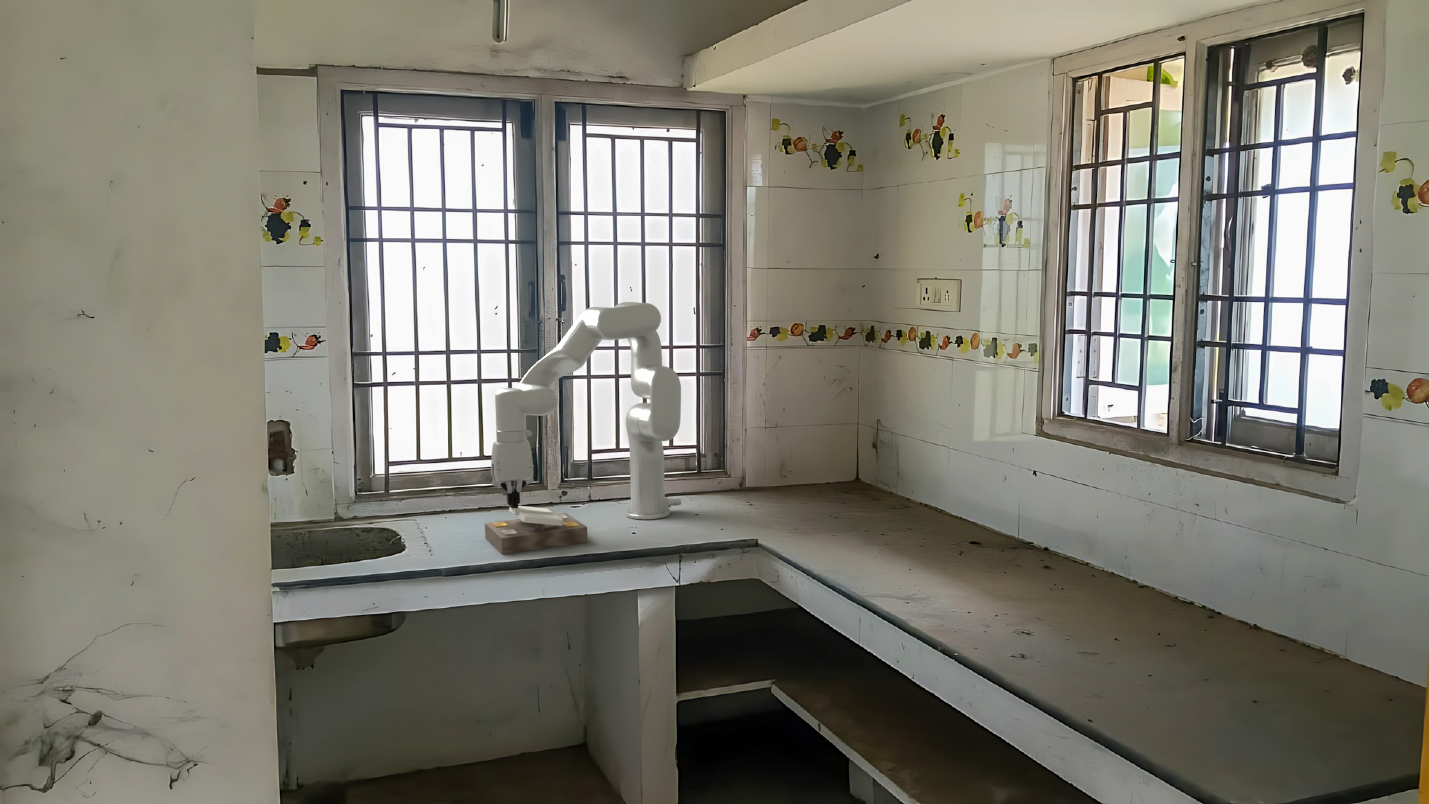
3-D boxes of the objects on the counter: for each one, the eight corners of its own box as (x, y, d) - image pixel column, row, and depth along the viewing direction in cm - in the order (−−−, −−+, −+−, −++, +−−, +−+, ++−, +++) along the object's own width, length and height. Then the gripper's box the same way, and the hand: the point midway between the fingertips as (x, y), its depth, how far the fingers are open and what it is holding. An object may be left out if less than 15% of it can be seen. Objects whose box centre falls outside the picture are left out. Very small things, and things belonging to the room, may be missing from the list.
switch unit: (566, 527, 279) (566, 507, 278) (587, 542, 264) (586, 521, 263) (485, 538, 269) (484, 517, 269) (502, 554, 254) (501, 532, 253)
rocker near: (556, 521, 266) (557, 515, 266) (562, 525, 262) (563, 519, 262) (518, 518, 262) (519, 512, 262) (524, 522, 257) (525, 516, 257)
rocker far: (546, 514, 274) (546, 508, 274) (551, 518, 270) (552, 512, 270) (509, 510, 270) (510, 505, 270) (514, 514, 265) (515, 508, 265)
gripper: (535, 432, 272) (537, 501, 274) (478, 436, 265) (481, 507, 268) (544, 436, 265) (546, 506, 267) (485, 441, 259) (488, 513, 261)
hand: (513, 506), depth 267 cm, fingers closed
